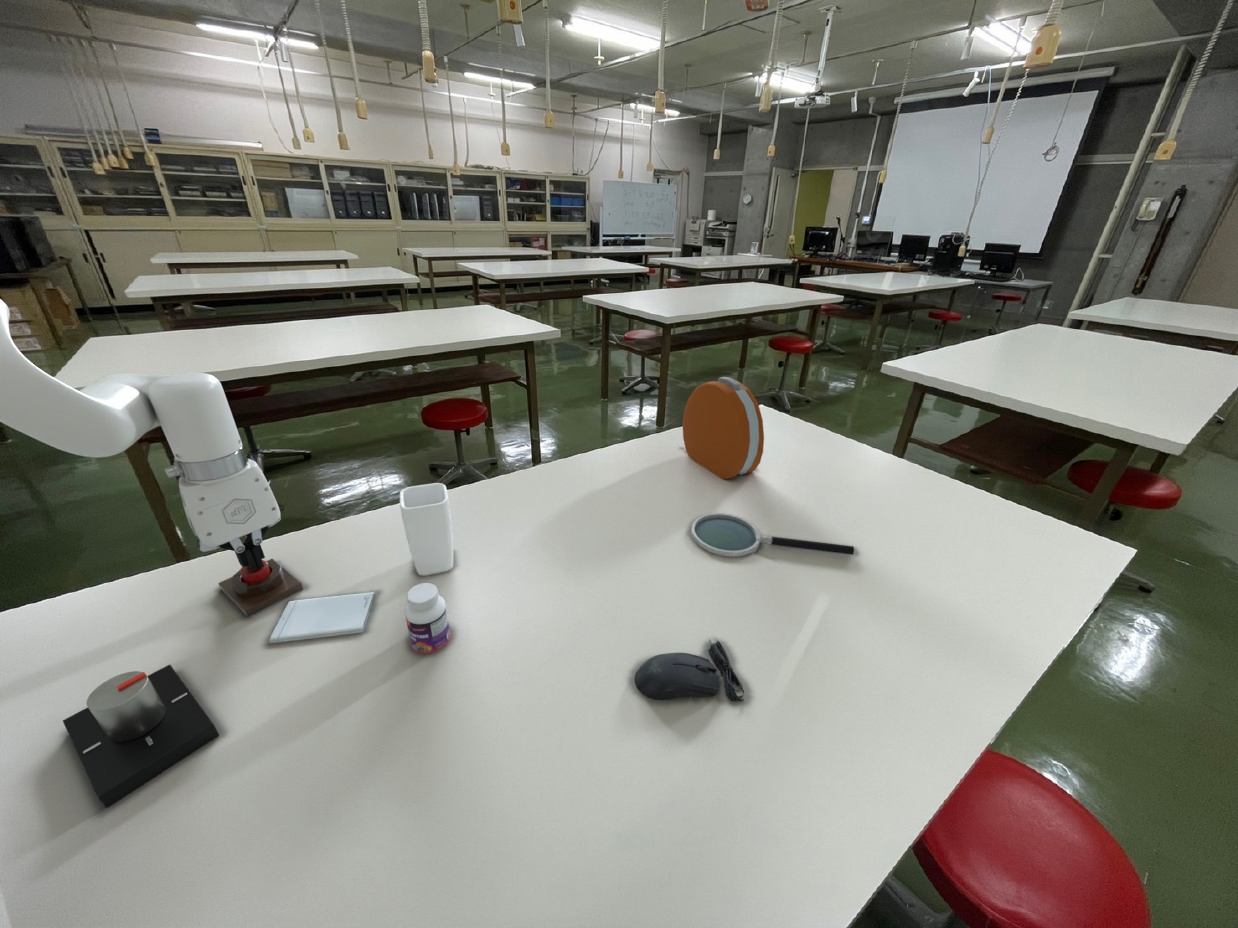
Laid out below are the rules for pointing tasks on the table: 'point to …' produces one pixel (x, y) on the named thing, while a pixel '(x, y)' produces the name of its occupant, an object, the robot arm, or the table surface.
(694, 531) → the magnifying glass
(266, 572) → the button
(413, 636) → the pill bottle
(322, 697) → the table surface
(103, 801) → the rotary dial switch
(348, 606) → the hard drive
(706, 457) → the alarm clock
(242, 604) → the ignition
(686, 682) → the computer mouse
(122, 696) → the knob
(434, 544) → the cup
